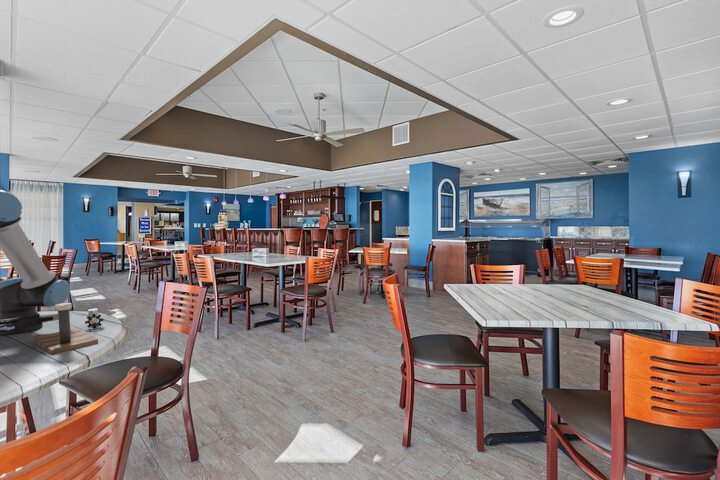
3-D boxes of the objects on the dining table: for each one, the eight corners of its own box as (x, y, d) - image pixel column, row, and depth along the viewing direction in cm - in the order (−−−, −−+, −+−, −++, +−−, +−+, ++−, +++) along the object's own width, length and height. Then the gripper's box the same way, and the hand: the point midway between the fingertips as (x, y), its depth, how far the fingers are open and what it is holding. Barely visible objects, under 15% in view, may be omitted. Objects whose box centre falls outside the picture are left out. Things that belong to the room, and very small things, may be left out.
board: (33, 341, 136) (33, 336, 136) (77, 331, 148) (76, 327, 148) (52, 354, 122) (51, 349, 122) (98, 342, 134) (98, 338, 134)
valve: (84, 323, 159) (85, 330, 150) (83, 309, 159) (84, 315, 150) (102, 320, 164) (103, 326, 154) (101, 307, 163) (103, 312, 154)
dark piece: (60, 332, 142) (58, 296, 141) (75, 329, 145) (73, 294, 144) (55, 347, 125) (53, 307, 124) (72, 344, 127) (70, 305, 127)
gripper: (-27, 337, 122) (58, 321, 142) (-21, 345, 115) (68, 327, 134) (-29, 317, 122) (57, 303, 141) (-23, 323, 114) (67, 308, 134)
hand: (62, 315), depth 138 cm, fingers closed
